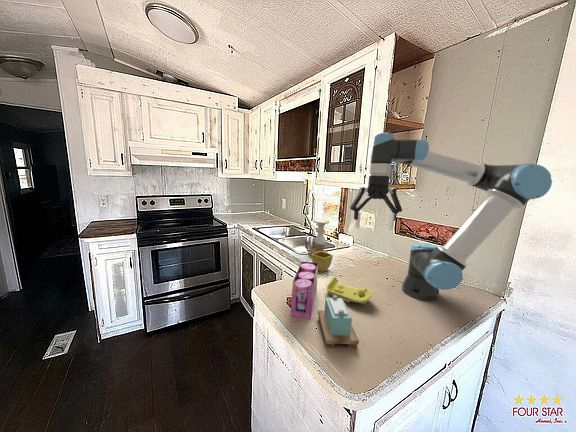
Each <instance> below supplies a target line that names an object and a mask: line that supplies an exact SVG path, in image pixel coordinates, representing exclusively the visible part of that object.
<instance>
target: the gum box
mask: <svg viewBox="0 0 576 432" xmlns="http://www.w3.org/2000/svg"><path fill="white" fill-rule="evenodd" d="M318 272H319V270H318V263H312V261H311V262H310V261H301V262H300V264H299V267H298V269H297V272H296V273H295V276H294V278H293V280H292V290H291V305H290V317H293V318H294V317H296V318H298V319H299V318H300V319H305V320H306V319H307V320H311V319H312V314H313V309H314V306H315V301H316V296H317V292H318Z"/></svg>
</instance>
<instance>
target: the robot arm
mask: <svg viewBox="0 0 576 432" xmlns="http://www.w3.org/2000/svg"><path fill="white" fill-rule="evenodd" d="M429 147H430V146H429V142H428V140H426V139H420V138H417V139H396V138H395V134H394V133H391V132H379V133H376V134H374V135H373V137H372V144H371V153H370V164H369V176H368V186H367V187H364V186H360V187H359V190H358V193H357V195H356V197H355V198H354V200H353V202H352V203H351V205H350V207H349V209H350V210H351V211H354V212H353V213H354V214H353V220H354V221H355V226H354V227H355V228H356V229H360V226H361V225H360V224H361V215H362V213H361V210H362V209H363V207H365V206H366V205H367V203H369V201H371V200H372V199H373V200H383V201H384V202H385V204H386V206H387V207H388V208H389V209H390V212H389V215H388V225H387V229H389V230H394V223H395V222H396V221H397V214H399V213H402V212H403V208H402V206H401V205H402V204H400V200H399V197H398V195H397V188H395V187H391V188H389V185H390V176H389V175H390V174H391V167H392V166H391V165H392V162H393V163H396V164H397V163H399V164H403V165H406V166H409V167H410V166H411V167H415V168H418V169H421V170H425V171H428V172H431V173H434V174H438V175H442V176H445V177H449V178H452V179H455V180H459V181H462V182H466V184H467V185H468V186H470V187H473V188H476V189H479V190H482V191H484V192H487V197H486V198H485V199H484V200H483V201H482V202H481V203H480V205H479V206H478V207H476V209H475V210H474V211H473V212H472V213H471V214H470V216H469V217H468V218H467V219H466V220H465V221H464V223H462V224H461V226H460V227H459V228H458V229H457V230H456V231H455V233H454V234H453V235H452V236H451V237H450V238H449V239H448V240H447V242H445V243H444V245H439V246H438V245H436V244H435V245H434V244H428V243H412V245H411V246H410V247H411V248H410V250H409V251H410V255H409V260H408V261H409V262H408V268H407V269H408V270H407V274H406V276H405V279H404V281H403V282H402V283H401V290H402V292H404V293H405V294H406V295H407V296H409V297H412V298H415V299H418V300H423V301H436V300H438V299H439V297H440V290H442V291H444V290H445V291H446V290H452V289H454V288H456V287H458V286H459V285H460V284H461V283H462V281H463V278H464V277H463V271H465V270H464V269H466V268H467V262H466V261H467V259H468V258H469V257H470V256H471V255H472V254H473V253H474V252H475V251H476V250H477V249H478V248H479V247H480V245H482V244H483V242H485V240H486V239H487V238H488V237H489V236H490V235H491V234H492V233H493V232H494V231H495V230H496V228H497V227H498V226H499V225H500V224H501V223H502V222H503V221H504V220H505V219H506V218H507V217H508V216H509V215H510V213H512V212H513V210H515V209H522V208H523V207H524V206H525V205H527V203H528V202H529V201H530V200H536V199H540V198H542V197H544V196H545V195H546V194H547V193H548V192H549V191H550V189H551V188H552V184H553V180H552V174H551V172H550V171H549V169H548V168H546V167H544V166H543V165H541V164H537V163H528V162H527V163H521V164H505V165H504V164H503V165H500V164H499V165H497V164H496V165H495V164H494V165H493V164H486V163H484V162H479V163H472V162H468V161H466V160H462V159H458V158H454V157H451V156H447V155H443V154H440V153H436V152H434V151H429V150H430V149H429ZM366 192H367V195H365V197H364V198H363V196H364V194H365V193H366ZM388 193H389V194H390V197H391V200H392V201H391V200H390V198H389V196H388ZM362 198H363V199H362ZM361 199H362V200H361ZM360 201H361V202H360ZM392 202H393V203H392Z"/></svg>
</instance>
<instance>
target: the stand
mask: <svg viewBox="0 0 576 432" xmlns="http://www.w3.org/2000/svg"><path fill="white" fill-rule="evenodd" d="M324 312H325V309H323V310H322V309H319V310H317V315H318V320H319V323H320V326H321V330H322V333H323V338H324V341H325V342H324V343H325V344H324V345H325V348H326V349H335V345H347V347H348V349H350V350H351V349H353V350H354V349H358V345H359V343H360V340H359V337H358V335H357V334H356V331H355V329H354V327H353V325H352V324H351V334H350V336H343V335H331V333H330V329H329V326H328V323H327V320H326V316H325V313H324Z"/></svg>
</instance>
